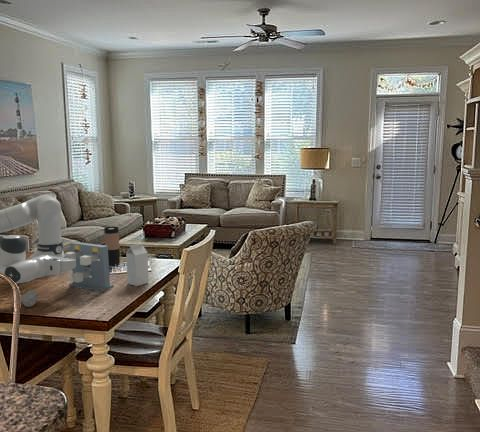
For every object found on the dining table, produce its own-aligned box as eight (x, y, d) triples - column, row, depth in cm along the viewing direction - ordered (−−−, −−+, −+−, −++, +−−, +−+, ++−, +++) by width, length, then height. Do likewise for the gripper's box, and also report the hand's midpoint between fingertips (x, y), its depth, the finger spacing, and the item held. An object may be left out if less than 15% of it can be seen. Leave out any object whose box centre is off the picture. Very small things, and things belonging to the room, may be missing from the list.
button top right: (80, 264, 208) (79, 256, 208) (96, 259, 217) (96, 251, 217) (86, 265, 207) (85, 257, 206) (102, 260, 216) (102, 252, 215)
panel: (69, 285, 222) (66, 244, 218) (81, 281, 229) (79, 240, 225) (101, 291, 213) (99, 248, 209) (113, 286, 220) (111, 244, 216)
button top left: (65, 260, 215) (64, 253, 214) (81, 255, 224) (81, 248, 223) (71, 261, 213) (70, 254, 213) (87, 256, 222) (86, 249, 222)
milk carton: (148, 283, 225) (147, 244, 222) (136, 286, 220) (134, 246, 216) (139, 280, 229) (138, 242, 226) (127, 283, 224) (125, 244, 221)
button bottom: (72, 281, 212) (71, 273, 212) (88, 275, 221) (88, 268, 221) (78, 282, 211) (77, 274, 210) (94, 276, 220) (94, 269, 219)
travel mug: (103, 263, 260) (101, 227, 256) (116, 261, 265) (114, 226, 261) (109, 266, 254) (107, 229, 251) (122, 263, 259) (121, 228, 256)
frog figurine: (32, 309, 191) (31, 293, 190) (18, 308, 193) (16, 291, 192) (42, 304, 197) (41, 288, 195) (28, 303, 199) (27, 287, 197)
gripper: (27, 269, 207) (52, 262, 219) (61, 275, 198) (85, 267, 210) (26, 255, 206) (51, 249, 218) (60, 261, 197) (84, 253, 209)
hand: (68, 258), depth 214 cm, fingers closed, pressing on button top left
